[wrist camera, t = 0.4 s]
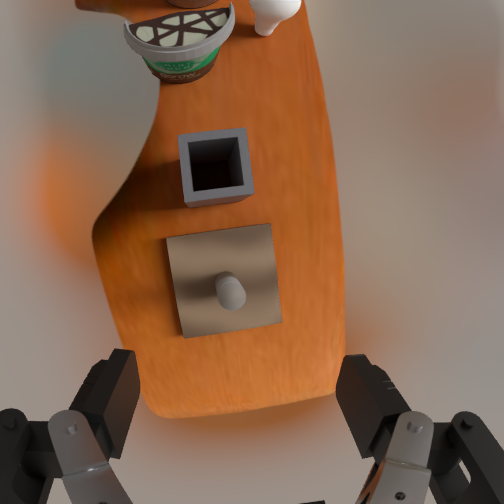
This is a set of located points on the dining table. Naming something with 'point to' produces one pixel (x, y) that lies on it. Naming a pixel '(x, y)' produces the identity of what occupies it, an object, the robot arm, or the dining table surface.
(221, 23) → the food container
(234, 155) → the sleeve
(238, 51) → the dining table surface
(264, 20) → the lightbulb
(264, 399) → the dining table surface
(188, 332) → the post stand
